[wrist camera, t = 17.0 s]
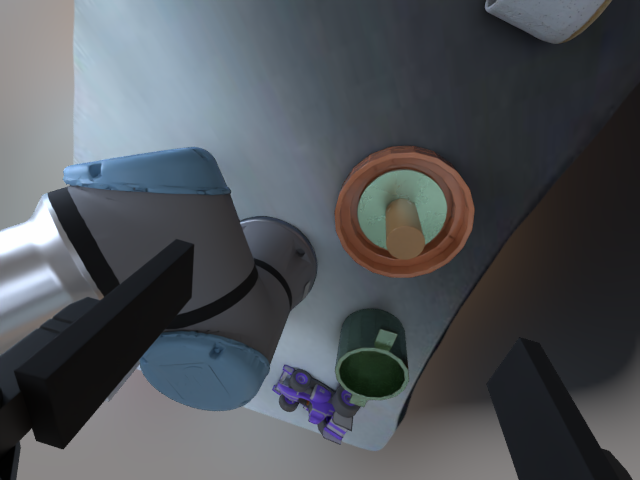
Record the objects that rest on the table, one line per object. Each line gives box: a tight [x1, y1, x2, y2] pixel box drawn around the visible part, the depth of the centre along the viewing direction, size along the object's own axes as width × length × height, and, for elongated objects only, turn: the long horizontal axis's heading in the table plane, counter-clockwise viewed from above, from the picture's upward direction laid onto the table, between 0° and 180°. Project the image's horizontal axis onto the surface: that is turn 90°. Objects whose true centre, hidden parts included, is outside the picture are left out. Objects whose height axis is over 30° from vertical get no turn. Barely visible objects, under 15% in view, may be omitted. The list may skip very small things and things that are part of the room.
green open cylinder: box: [335, 309, 409, 407], centre depth 50 cm, size 10×16×8 cm, turn 167°
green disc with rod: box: [357, 169, 447, 260], centre depth 39 cm, size 11×11×10 cm
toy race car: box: [272, 365, 361, 444], centre depth 60 cm, size 10×15×6 cm, turn 68°
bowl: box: [335, 146, 475, 278], centre depth 42 cm, size 16×16×4 cm
